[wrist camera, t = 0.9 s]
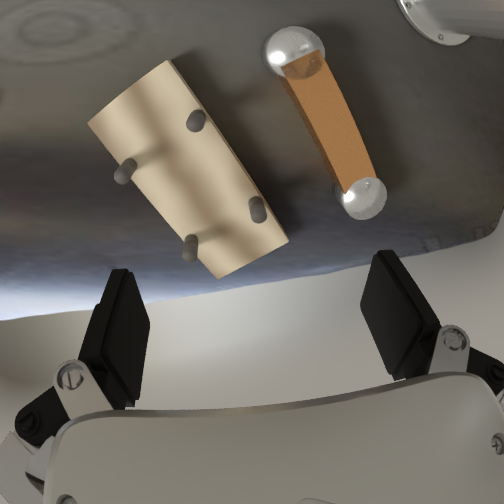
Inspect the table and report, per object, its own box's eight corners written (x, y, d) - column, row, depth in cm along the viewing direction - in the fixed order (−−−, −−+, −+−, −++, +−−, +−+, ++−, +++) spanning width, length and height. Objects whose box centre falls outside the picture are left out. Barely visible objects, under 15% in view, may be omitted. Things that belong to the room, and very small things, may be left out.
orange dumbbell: (296, 22, 23) (307, 17, 20) (376, 191, 35) (391, 206, 32) (251, 44, 24) (255, 41, 21) (341, 210, 37) (353, 227, 33)
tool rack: (170, 60, 24) (161, 59, 20) (285, 232, 38) (294, 256, 33) (94, 119, 27) (75, 130, 23) (217, 269, 40) (218, 296, 36)
